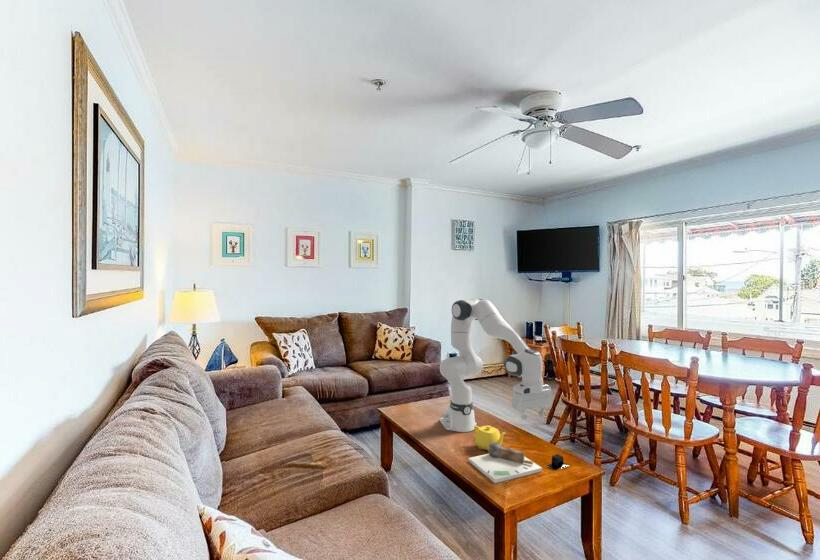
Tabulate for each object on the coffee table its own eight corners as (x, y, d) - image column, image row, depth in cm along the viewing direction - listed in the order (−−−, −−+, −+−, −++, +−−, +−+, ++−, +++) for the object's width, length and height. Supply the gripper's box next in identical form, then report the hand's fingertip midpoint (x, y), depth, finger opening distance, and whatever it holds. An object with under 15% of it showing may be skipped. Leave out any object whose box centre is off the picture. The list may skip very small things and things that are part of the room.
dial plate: (468, 461, 173) (468, 457, 173) (512, 451, 183) (512, 448, 183) (494, 483, 155) (494, 479, 155) (542, 471, 164) (542, 467, 164)
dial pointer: (487, 455, 174) (487, 445, 174) (491, 451, 179) (491, 441, 179) (531, 466, 164) (531, 456, 164) (534, 462, 168) (534, 451, 168)
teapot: (512, 450, 183) (512, 428, 183) (499, 458, 176) (499, 435, 176) (480, 439, 196) (480, 418, 196) (467, 446, 188) (467, 424, 188)
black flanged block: (560, 459, 176) (560, 449, 176) (574, 466, 169) (574, 456, 169) (541, 466, 169) (541, 456, 169) (555, 473, 163) (555, 463, 163)
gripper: (545, 382, 179) (546, 412, 179) (509, 387, 171) (509, 418, 171) (555, 385, 173) (556, 416, 173) (518, 391, 165) (519, 423, 165)
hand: (532, 417), depth 172 cm, fingers open, 8 cm apart
